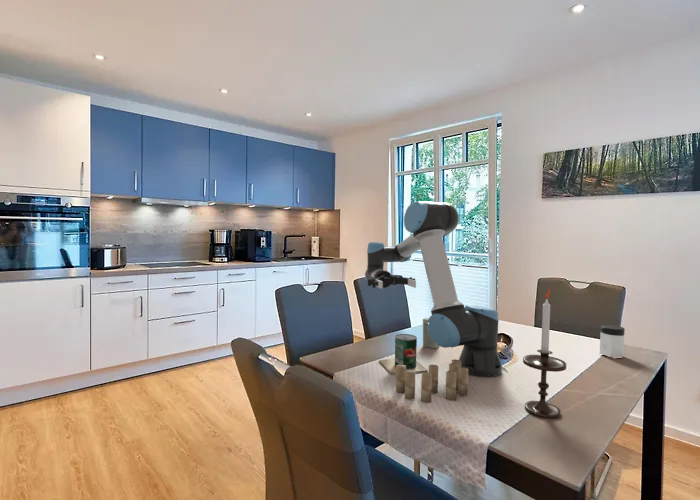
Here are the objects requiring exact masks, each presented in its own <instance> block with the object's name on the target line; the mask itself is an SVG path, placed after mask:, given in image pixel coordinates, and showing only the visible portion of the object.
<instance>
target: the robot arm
mask: <svg viewBox="0 0 700 500" xmlns="http://www.w3.org/2000/svg"><path fill="white" fill-rule="evenodd" d="M459 216H460V215H459V212H458V211H457V209H456V208H455V206H453V205H452V204H450V203H448V202H437V201H436V202H434V201H425V200H422V201H421V200H420V201H413V202H411V203H410V204H409V205H408V206H407V208H406V211H405V213H404V216H403V225H404V228H405V230H406V231H407V232H408V233H410V234H411V233H412V234H411V235H409V236H408V237H406V238H405V239H404V240H402V241H401V242H400V243H398V244H396V245H395V246H394V245H393V246H392V245H387V246H386V245H385V244H384V242H379V241H378V242H377V241H376V242H375V241H374V242H373V241H372V242H371V241H370V242H368V244H367V250H366V252H367V253H366V254H367V265H366V266H367V267H366V270H365V272H364V276H365V280H366V281H367V286H368V287H371V286H372V288H373V289H374V288H375V289H376V288H378V289H385V288H386V289H387V288H389V287H390V286H391V285H392V286H393V285H394V286H395V285H405V286H406V285H407V286H409V287H411V288H414V289H415V288H417V280H416V278H415V277H412V276H410V277H406V276H405V277H404V276H400V275H399V276H394V275H392V274H391V272H390V271H388V270H385V269H384V266H385V265H384V264H385V263H405V262H408V261H410V259H411V258H412V255H413V254H416V252H418V251H420V252H421V256H422V260H423V264H424V270H425V272H426V276H427V277H426V278H427V282H428V286H429V289H430V290H429V291H430V295H431V298H432V302H433V307H432V309H431V310H430V313H431V315H430V317H428V318H429V319H428V322H429V323H428V324H427V327H428V332H429V335H430V337H431V338H432V340H433V341H434V342H435V343H436V344H437V345H438V346H439V347H440V348H444V349H445V348H451V349H452V348H456V347H461V346H463V347H462V350H461V353H460V356H459V357H458V358H459V359H458V360H460V361H461V367H465V368H467V369H468V375H471V376H477V377H482V378H483V377H487V378H489V377H496V376H497V377H498V376H500V375H501V374H502V373H503V372H502V370H503V367H502V363H501V359H500V355H499V352H498V339H499V337H498V336H499V335H498V333H499V312H498V311H497V310H496V309H494V308H491V307H486V306H479V305H471V304H467V305H465V304H464V303H463V302H461V301H460V300H459V299H458V295H457V292H456V286H455V283H454V279H453V274H452V270H451V268H450V267H451V266H450V262H449V259H448V255H447V251H446V247H445V243H444V239H443V238H445V237H446V236H447V235H449V234H451V233H452V232H453V231H454V230H455V229H456V228H457V227H458V224H459V222H460V221H459V220H460V218H459Z"/></svg>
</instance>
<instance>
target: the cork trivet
mask: <svg viewBox="0 0 700 500" xmlns="http://www.w3.org/2000/svg"><path fill="white" fill-rule="evenodd" d="M378 362H379V363H380V364H381V366H383V368H384V369H385V370H386V371H387V372H388V373H389V375H392V376H393V375H396V367H395V358H388V359H379V360H378ZM412 370H413V371H415V374H419V373H421V374H422V373H425V372H426V373H429V369H428V368H426V367H425V366H424V365H422V364H421V363H420V362H419V361H418V360H416V368H415V369H412Z"/></svg>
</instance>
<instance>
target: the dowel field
mask: <svg viewBox="0 0 700 500" xmlns="http://www.w3.org/2000/svg"><path fill="white" fill-rule="evenodd" d="M395 375H396V376H395V392H396V393H398V394H404V398H405V399H406V400H408V401H413V400H415V399H416V373H415V371H413V370H406V366H405V365H401V364H399V365H397V366H396V374H395ZM420 382H421V384H420V385H421V386H420V388H421V389H420V390H421V391H420V392H421V393H420V401H421V402H422V403H424V404H431V402H432V394H436V393H438V392H439V366H438V364H429V365H428V372H421V381H420ZM468 388H469V374H468V369H467V368H465V367H461V361H460V360H459V359H452V360H451V362H450V363H448V370H447V371H446V372H445V399H446V400H447V401H452V402H453V401H456V399H457V395H458V396H460V397H467V396H468V393H469V391H468V390H469V389H468Z"/></svg>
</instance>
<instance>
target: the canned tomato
mask: <svg viewBox="0 0 700 500" xmlns="http://www.w3.org/2000/svg"><path fill="white" fill-rule="evenodd" d="M394 337H395V338H394V339H395V340H394V343H395V344H394V348H395V349H394V359H395V367H396V366H397V365H399V364H401V365H405V366H406V370H412V369H415V368H416V361H417V347H418V346H417V343H418V340H417V339H418V337H417V336H416V335H414V334H410V333H400V334H399V333H398V334H396V335H394Z"/></svg>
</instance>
